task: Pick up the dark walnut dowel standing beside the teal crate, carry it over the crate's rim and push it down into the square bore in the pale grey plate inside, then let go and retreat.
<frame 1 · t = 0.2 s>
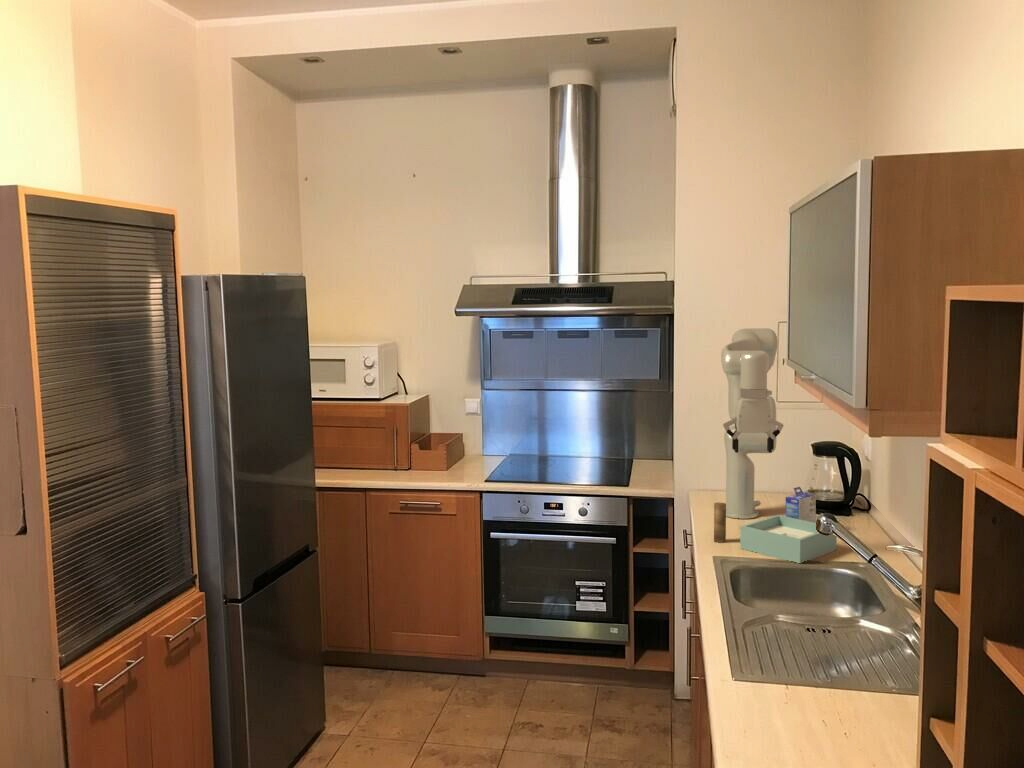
hand: (752, 451, 245), 30 cm above the worktop, tool pointing down, fingers open, 9 cm apart
ink cartridge box: (800, 532, 269), on the worktop
peg: (719, 541, 260), on the worktop
crate: (788, 549, 250), on the worktop
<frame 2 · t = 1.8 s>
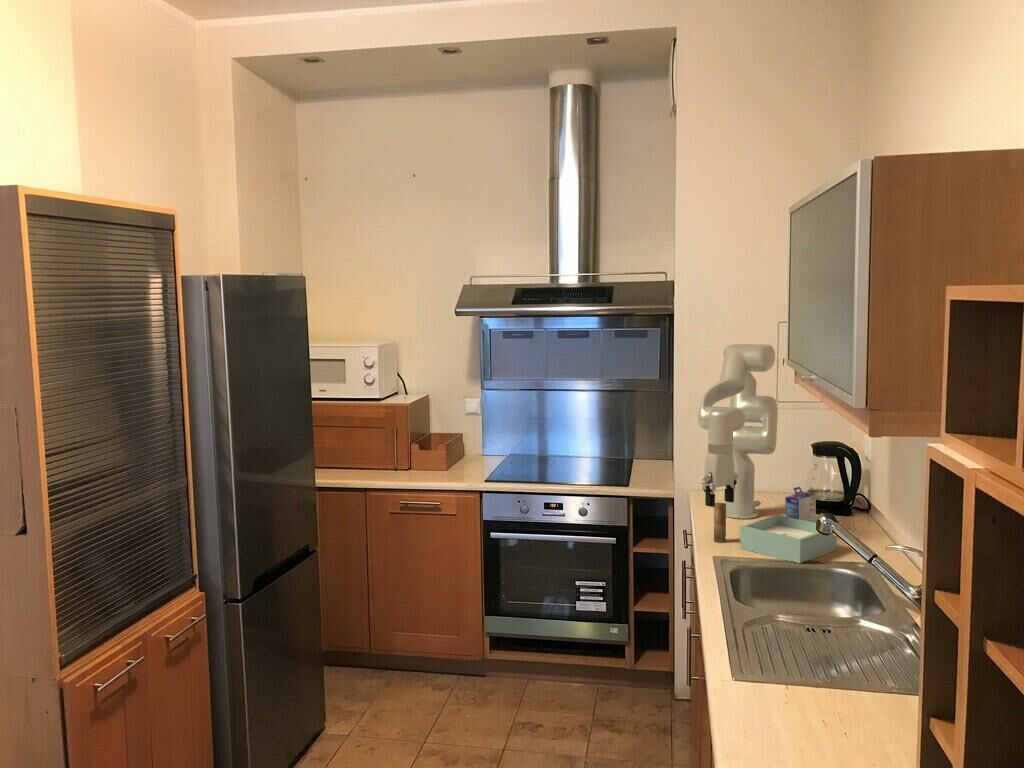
hand: (719, 503, 258), 12 cm above the worktop, tool pointing down, fingers open, 9 cm apart
nothing on the worktop moved.
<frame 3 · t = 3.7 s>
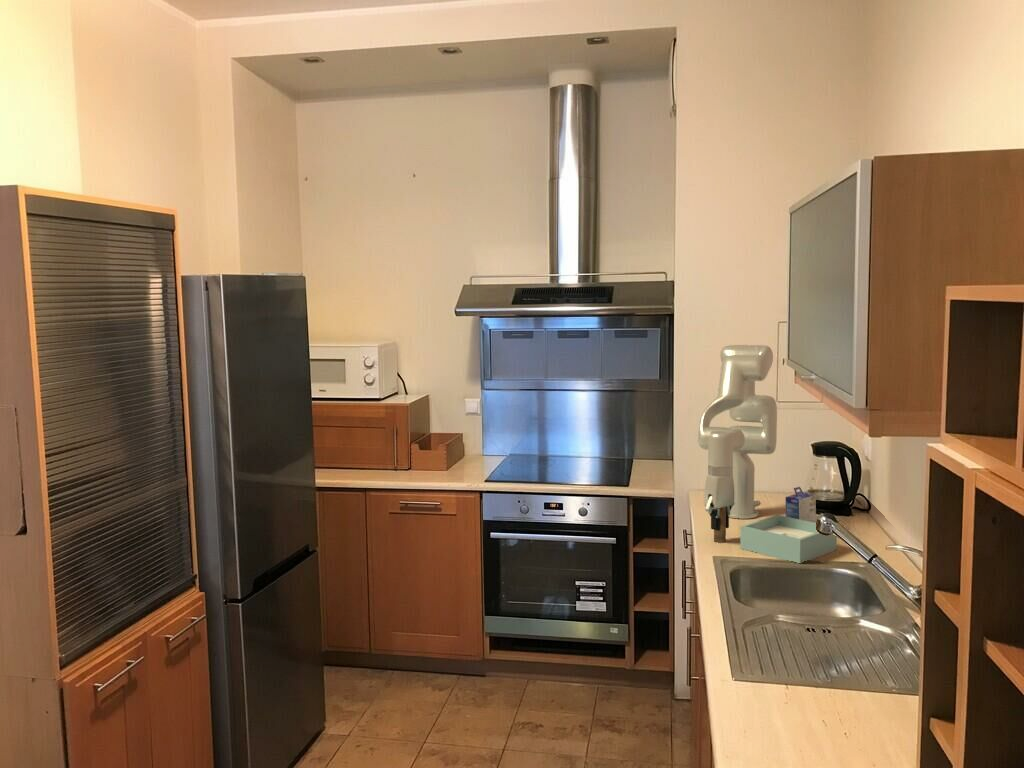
hand: (719, 527, 260), 4 cm above the worktop, tool pointing down, fingers closed on peg, 3 cm apart
peg: (719, 541, 260), on the worktop, touching gripper
everything else where it was.
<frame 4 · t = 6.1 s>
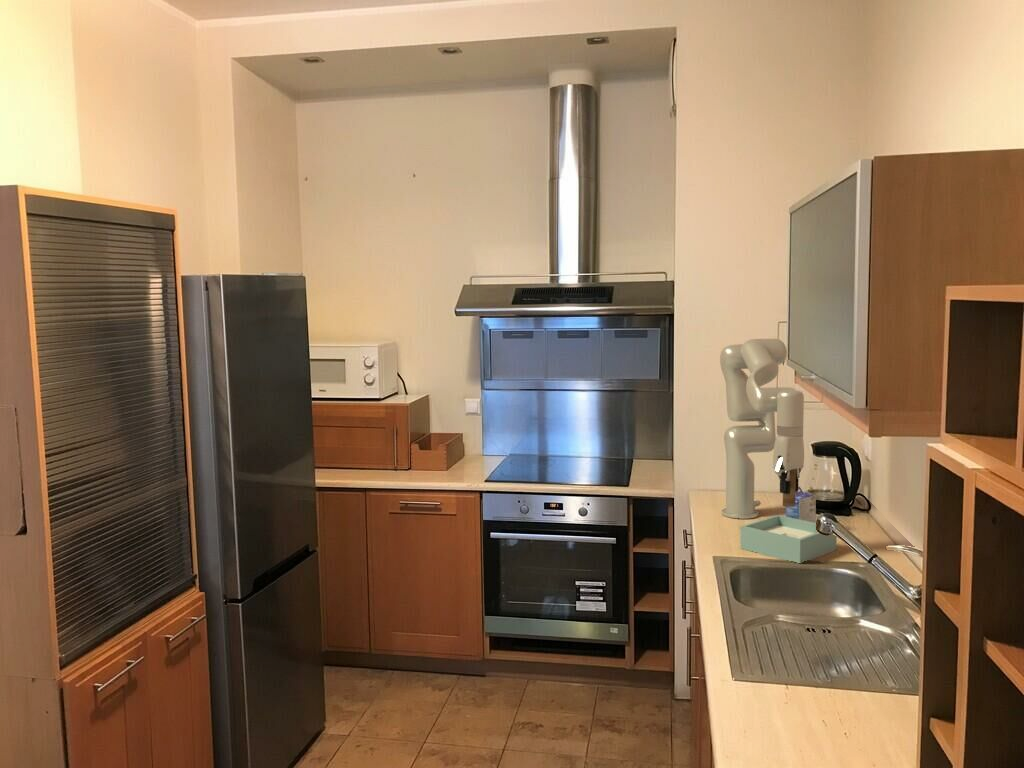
hand: (789, 491, 249), 18 cm above the worktop, tool pointing down, fingers closed on peg, 3 cm apart
peg: (788, 505, 249), point 14 cm above the worktop, touching gripper
everything else where it was.
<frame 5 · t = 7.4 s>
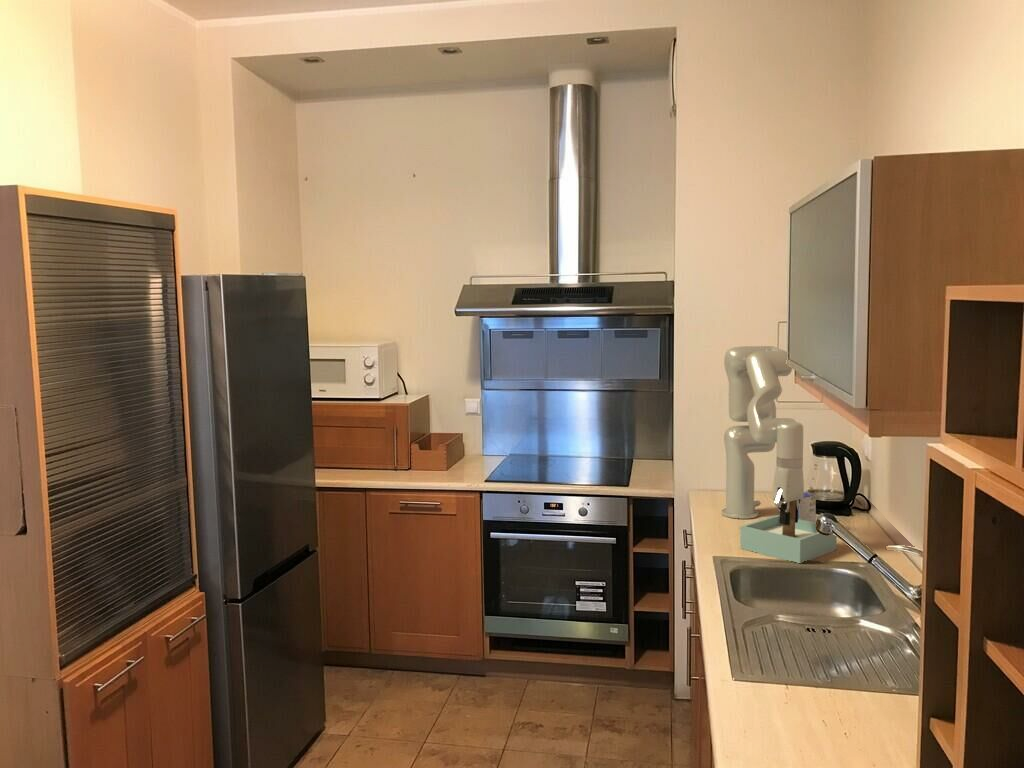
hand: (788, 522, 250), 8 cm above the worktop, tool pointing down, fingers closed on peg, 3 cm apart
peg: (788, 536, 250), point 4 cm above the worktop, touching gripper
everything else where it was.
when the fingers open (5 cm above the worktop, at t = 8.6 s): peg stays where it is, resting in crate.
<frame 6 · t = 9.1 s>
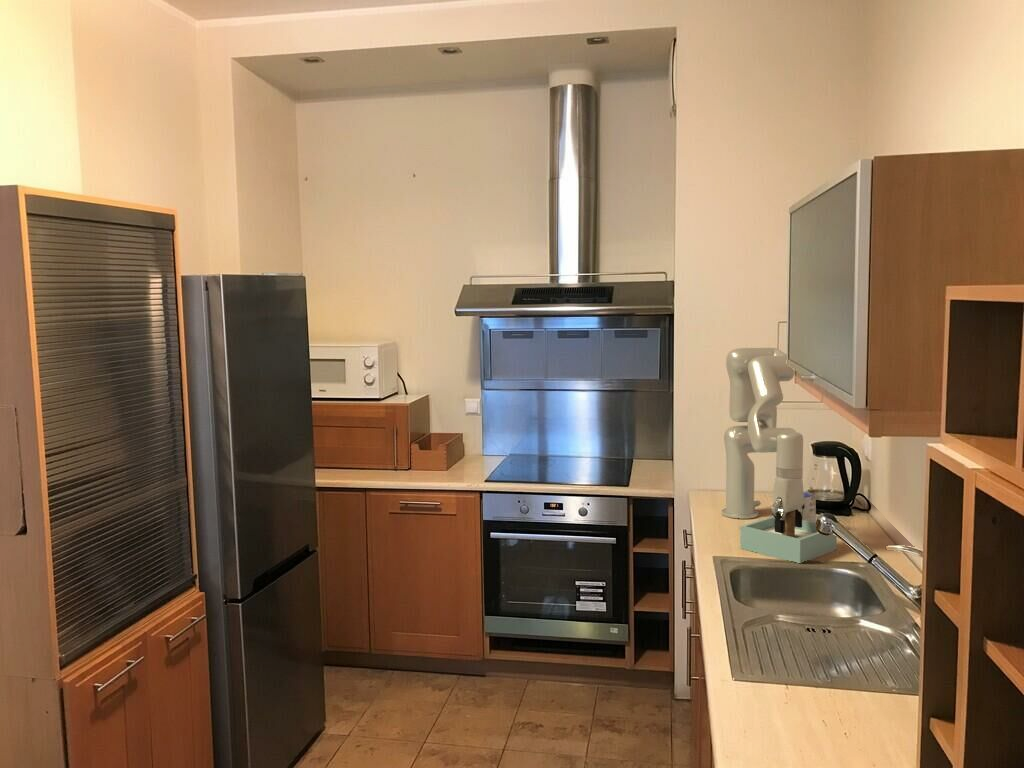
hand: (788, 529, 250), 6 cm above the worktop, tool pointing down, fingers open, 8 cm apart
peg: (788, 549, 251), resting in crate
everything else where it was.
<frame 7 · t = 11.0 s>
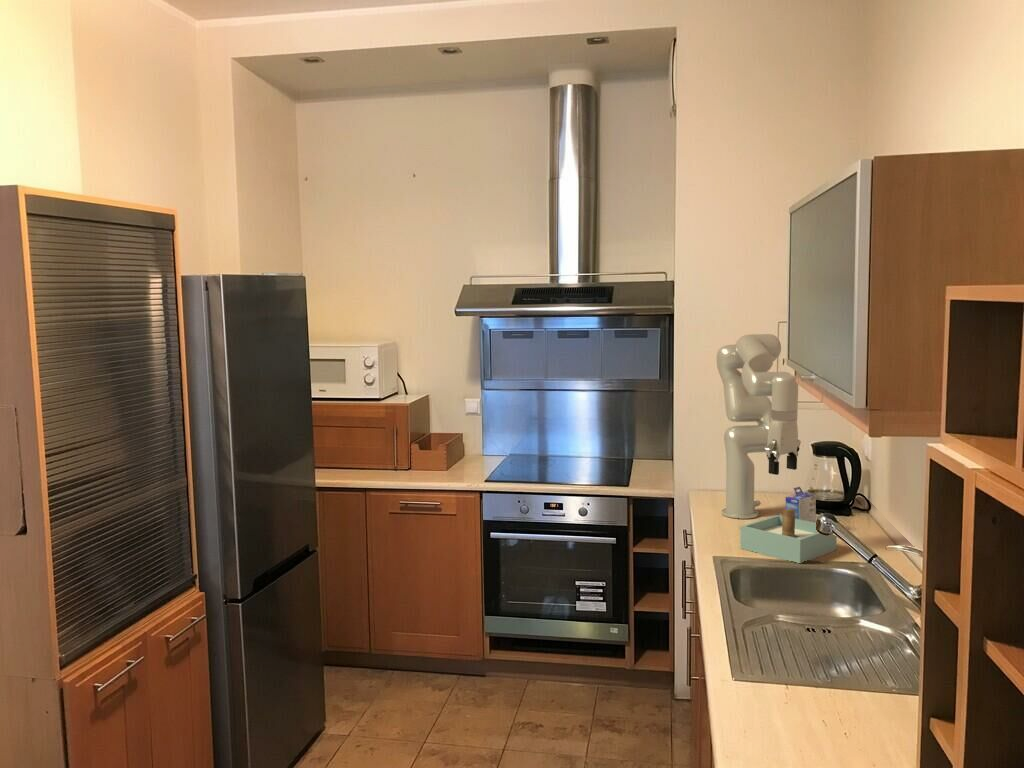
hand: (782, 471, 252), 23 cm above the worktop, tool pointing down, fingers open, 9 cm apart
nothing on the worktop moved.
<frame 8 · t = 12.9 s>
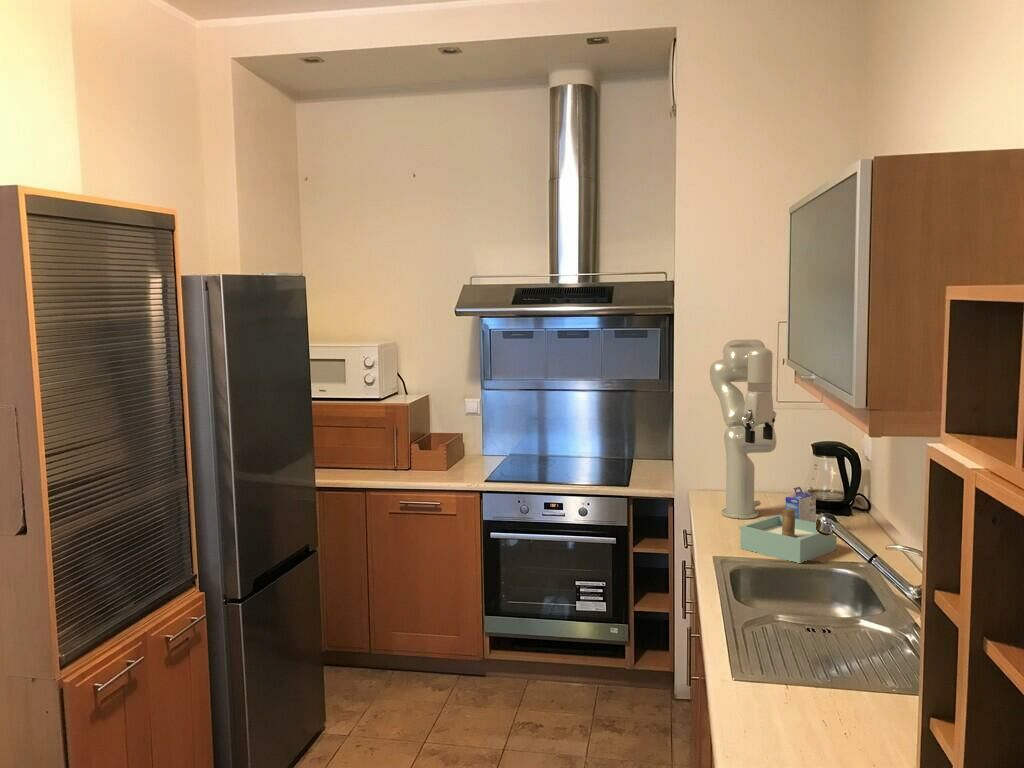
hand: (758, 441, 265), 30 cm above the worktop, tool pointing down, fingers open, 9 cm apart
nothing on the worktop moved.
at the end: peg 0.1 cm off-centre on the crate, point 0.0 cm above the crate's base; peg tilted 0°; the gripper is holding nothing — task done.
